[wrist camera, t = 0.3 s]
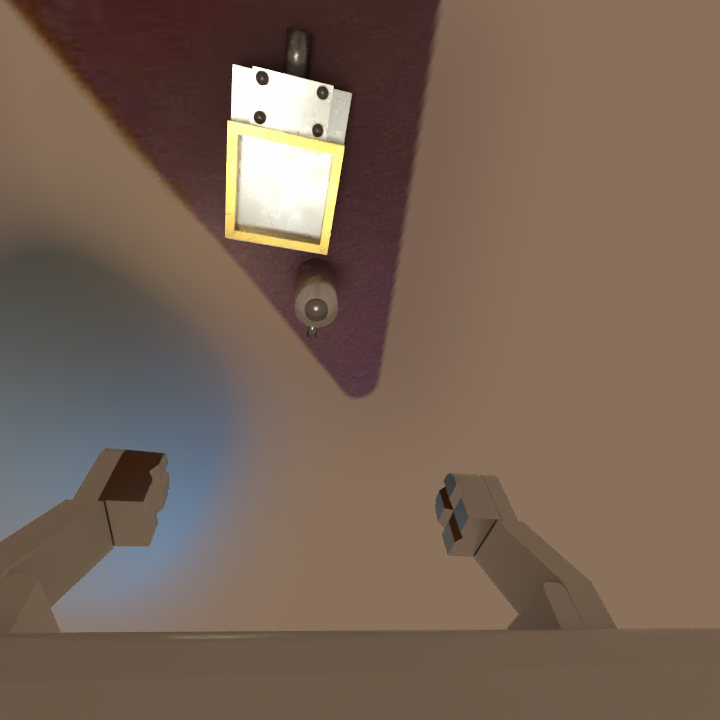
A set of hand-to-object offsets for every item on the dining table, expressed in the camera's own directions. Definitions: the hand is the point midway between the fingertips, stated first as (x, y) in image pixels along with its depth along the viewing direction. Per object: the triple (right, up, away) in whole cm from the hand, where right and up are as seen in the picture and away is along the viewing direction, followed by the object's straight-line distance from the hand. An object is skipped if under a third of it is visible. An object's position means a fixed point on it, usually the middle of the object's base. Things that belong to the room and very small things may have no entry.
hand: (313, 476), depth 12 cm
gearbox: (-7, +29, +36) cm, 46 cm away
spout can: (-5, +14, +46) cm, 48 cm away
